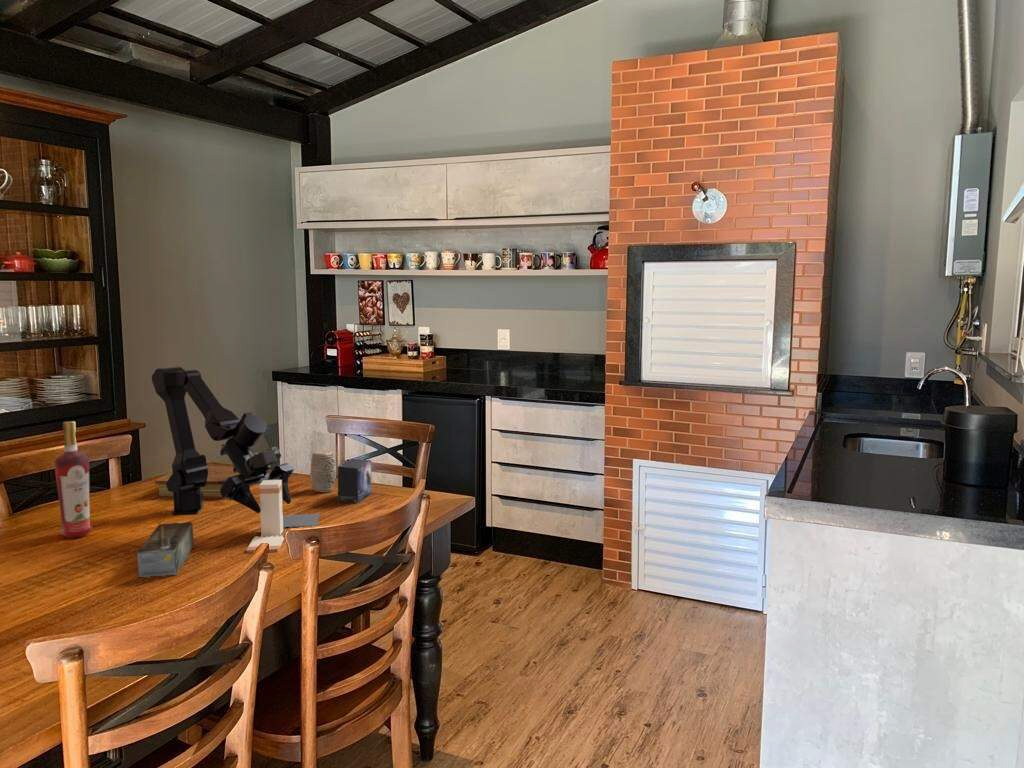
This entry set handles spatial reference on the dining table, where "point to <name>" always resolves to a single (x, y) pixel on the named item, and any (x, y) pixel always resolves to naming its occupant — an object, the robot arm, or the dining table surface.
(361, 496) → the small box
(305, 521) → the mat
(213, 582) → the dining table surface
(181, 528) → the grey piece
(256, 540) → the cream block pink end
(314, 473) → the carving
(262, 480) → the robot arm
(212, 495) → the diary
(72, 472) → the liquor
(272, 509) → the beige tall block
